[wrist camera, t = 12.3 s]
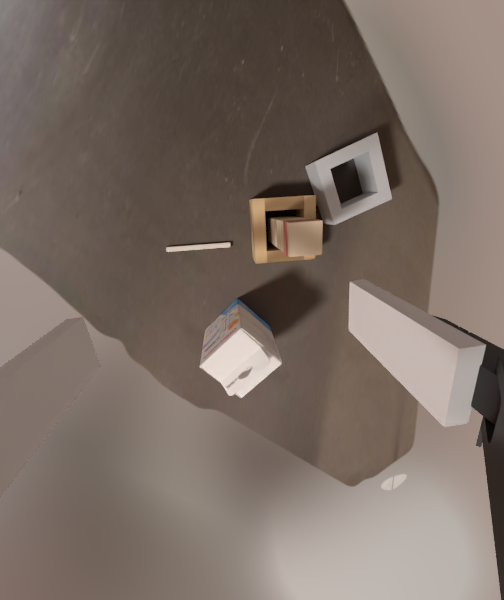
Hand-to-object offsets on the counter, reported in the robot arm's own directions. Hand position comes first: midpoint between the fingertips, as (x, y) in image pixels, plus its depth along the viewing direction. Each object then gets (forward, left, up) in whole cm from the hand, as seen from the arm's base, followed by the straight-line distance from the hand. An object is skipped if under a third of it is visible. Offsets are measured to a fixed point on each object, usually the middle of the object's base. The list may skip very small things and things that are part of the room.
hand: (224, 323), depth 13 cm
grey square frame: (-8, +19, -31) cm, 37 cm away
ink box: (+15, +1, -31) cm, 35 cm away
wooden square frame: (-2, +9, -31) cm, 32 cm away
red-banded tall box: (-2, +9, -31) cm, 32 cm away
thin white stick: (0, -4, -31) cm, 31 cm away
